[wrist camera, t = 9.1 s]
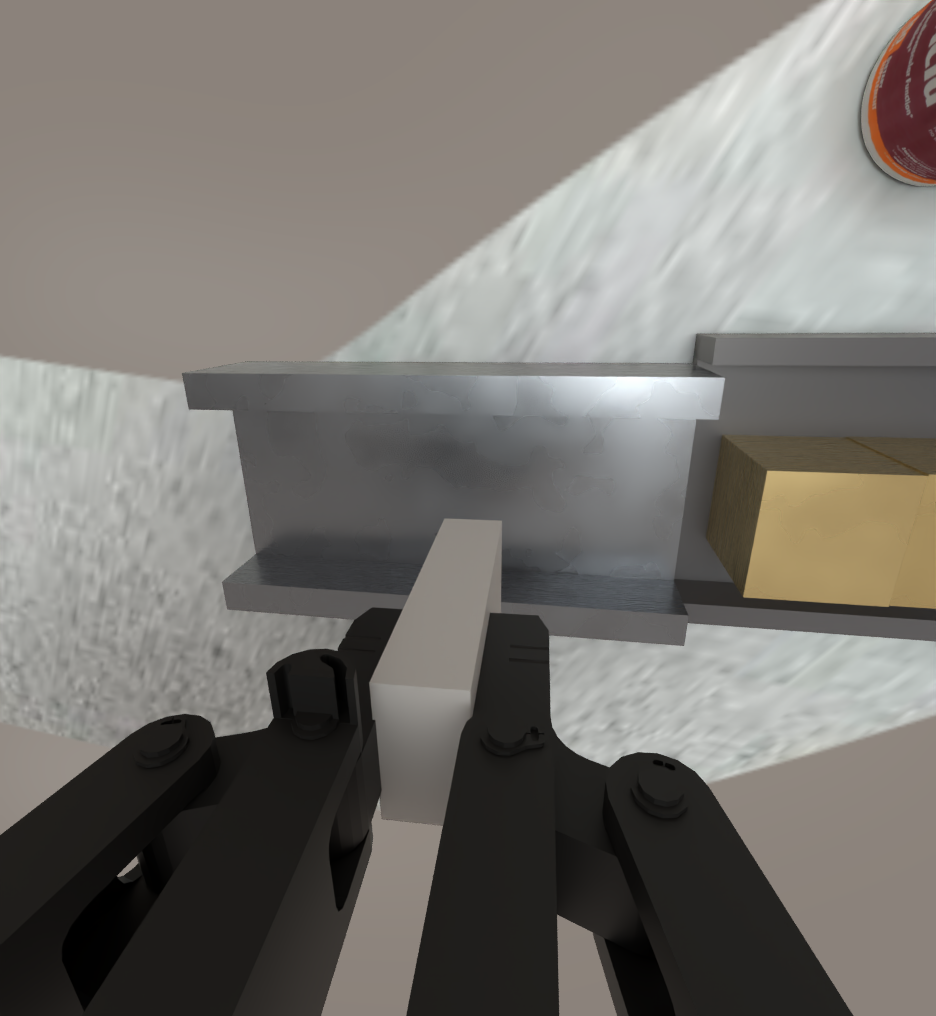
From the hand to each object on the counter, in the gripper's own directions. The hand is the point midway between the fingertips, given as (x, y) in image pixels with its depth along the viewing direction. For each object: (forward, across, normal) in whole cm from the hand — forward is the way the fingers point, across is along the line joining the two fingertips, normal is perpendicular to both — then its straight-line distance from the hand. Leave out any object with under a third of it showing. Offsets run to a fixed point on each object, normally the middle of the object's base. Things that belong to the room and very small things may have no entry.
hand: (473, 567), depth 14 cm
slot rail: (+8, -2, 0) cm, 8 cm away
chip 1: (+7, +10, 0) cm, 12 cm away
